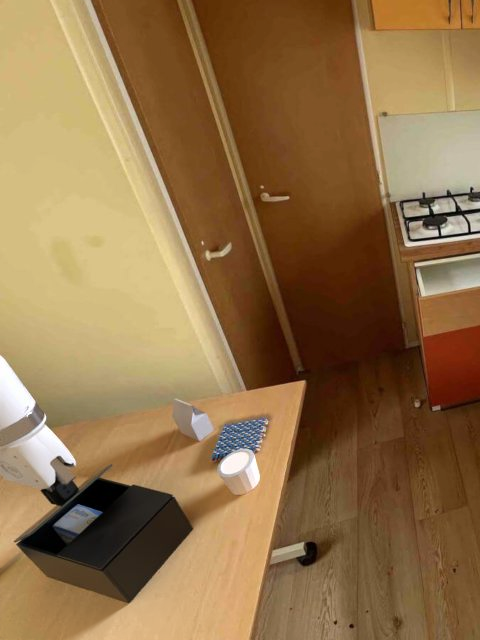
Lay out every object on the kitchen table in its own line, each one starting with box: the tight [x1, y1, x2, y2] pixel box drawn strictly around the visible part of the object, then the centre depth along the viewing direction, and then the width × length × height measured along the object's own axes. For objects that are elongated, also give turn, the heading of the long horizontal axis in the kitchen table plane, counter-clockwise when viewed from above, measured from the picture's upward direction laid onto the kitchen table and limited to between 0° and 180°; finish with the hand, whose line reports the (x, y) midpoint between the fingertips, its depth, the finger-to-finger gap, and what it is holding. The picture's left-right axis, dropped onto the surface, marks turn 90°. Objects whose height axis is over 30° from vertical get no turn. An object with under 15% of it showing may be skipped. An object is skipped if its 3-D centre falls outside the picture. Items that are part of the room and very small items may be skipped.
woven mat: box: [210, 416, 269, 462], centre depth 102 cm, size 10×11×2 cm
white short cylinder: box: [216, 449, 261, 496], centre depth 91 cm, size 7×7×7 cm
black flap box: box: [15, 477, 194, 604], centre depth 78 cm, size 19×13×11 cm
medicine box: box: [52, 504, 102, 545], centre depth 79 cm, size 8×4×9 cm, turn 77°
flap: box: [13, 463, 114, 544], centre depth 75 cm, size 9×13×1 cm
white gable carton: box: [171, 397, 215, 442], centre depth 102 cm, size 4×7×10 cm, turn 69°
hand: (65, 497), depth 74 cm, fingers closed
